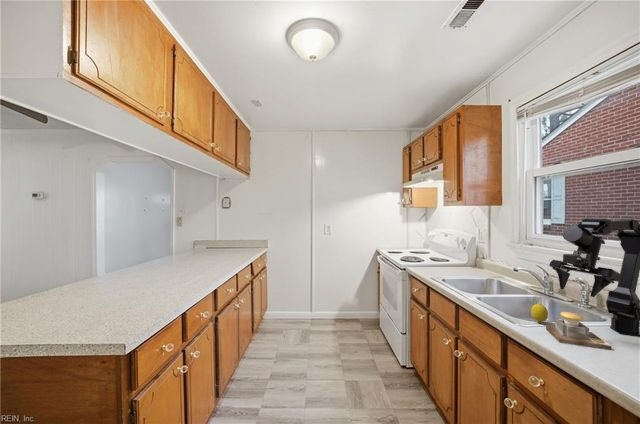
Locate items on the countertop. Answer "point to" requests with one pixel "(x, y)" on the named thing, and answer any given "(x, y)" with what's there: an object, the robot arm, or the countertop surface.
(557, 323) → the board
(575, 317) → the button
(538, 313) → the lemon
